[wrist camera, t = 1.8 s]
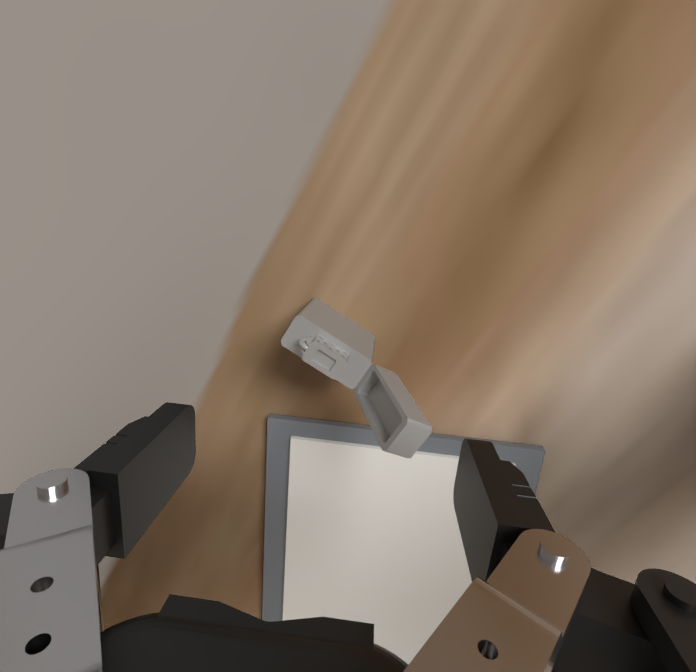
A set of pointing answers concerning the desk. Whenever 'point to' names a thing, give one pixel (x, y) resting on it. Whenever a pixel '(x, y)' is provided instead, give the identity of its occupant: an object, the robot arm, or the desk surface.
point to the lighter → (359, 375)
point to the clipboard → (366, 528)
